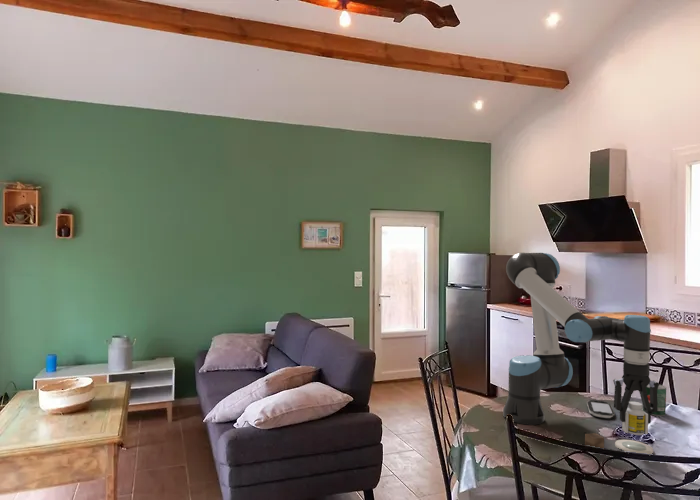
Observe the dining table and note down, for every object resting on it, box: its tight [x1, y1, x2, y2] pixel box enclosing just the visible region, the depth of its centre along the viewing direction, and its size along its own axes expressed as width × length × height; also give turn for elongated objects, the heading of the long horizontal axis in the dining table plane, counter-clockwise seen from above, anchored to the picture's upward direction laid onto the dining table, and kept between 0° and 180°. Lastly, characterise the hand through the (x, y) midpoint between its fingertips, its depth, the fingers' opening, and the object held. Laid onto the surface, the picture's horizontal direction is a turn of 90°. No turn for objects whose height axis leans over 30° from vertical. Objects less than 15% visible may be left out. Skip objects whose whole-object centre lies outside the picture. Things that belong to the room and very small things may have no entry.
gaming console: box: [586, 399, 616, 420], centre depth 200 cm, size 19×9×3 cm, turn 159°
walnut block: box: [584, 432, 605, 449], centre depth 164 cm, size 4×4×4 cm
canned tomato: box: [642, 384, 667, 417], centre depth 200 cm, size 8×8×11 cm
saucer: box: [614, 439, 654, 455], centre depth 164 cm, size 11×11×1 cm
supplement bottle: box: [626, 401, 645, 436], centre depth 163 cm, size 5×5×10 cm
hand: (634, 431), depth 163 cm, fingers closed on supplement bottle, 5 cm apart
